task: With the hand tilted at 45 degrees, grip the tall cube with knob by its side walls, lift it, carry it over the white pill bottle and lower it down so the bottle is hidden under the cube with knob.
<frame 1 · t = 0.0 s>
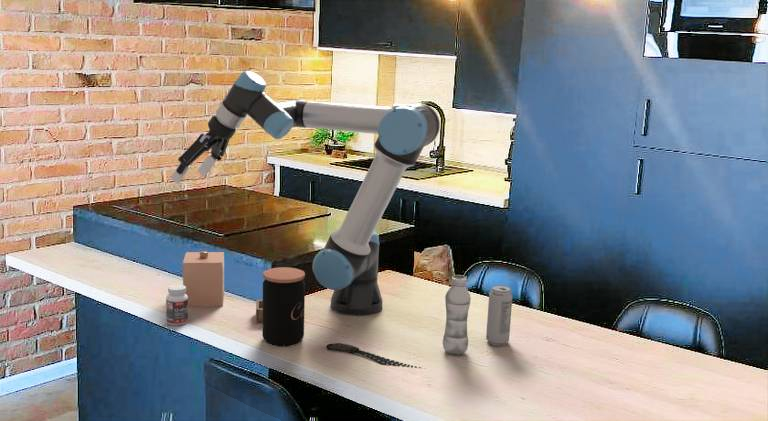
hand: (188, 177, 230), 36 cm above the counter, tool tilted 35°, fingers open, 13 cm apart
pill bottle: (177, 323, 217), on the counter
knife: (375, 362, 197), on the counter
plastic bottle: (454, 353, 204), on the counter
cube with knob: (204, 300, 235), on the counter
energy drink can: (497, 343, 212), on the counter
walnut open box: (274, 318, 223), on the counter
coffee jar: (283, 340, 208), on the counter
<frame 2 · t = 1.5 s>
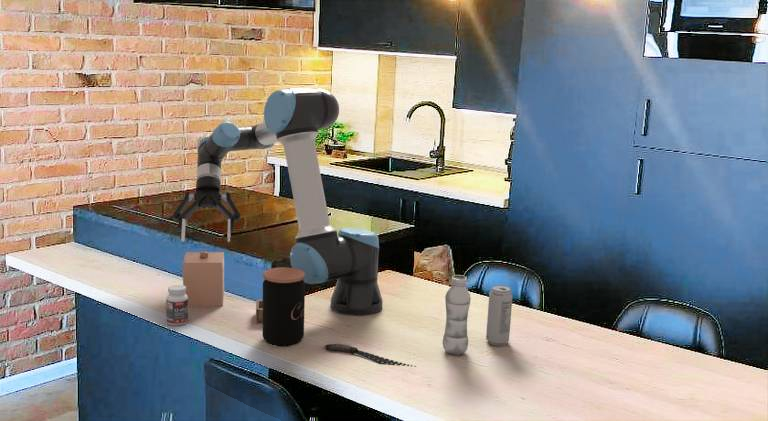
hand: (205, 239, 242), 15 cm above the counter, tool tilted 45°, fingers open, 13 cm apart
nothing on the counter moved.
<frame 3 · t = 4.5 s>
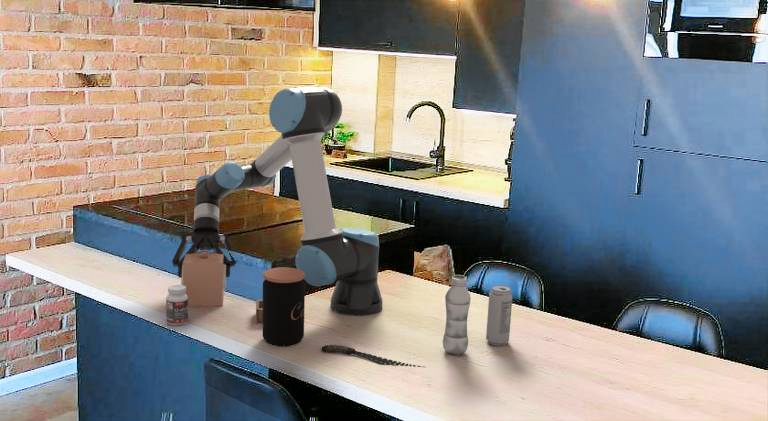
hand: (203, 286, 231), 5 cm above the counter, tool tilted 45°, fingers closed on cube with knob, 11 cm apart
cube with knob: (204, 299, 235), on the counter, touching gripper
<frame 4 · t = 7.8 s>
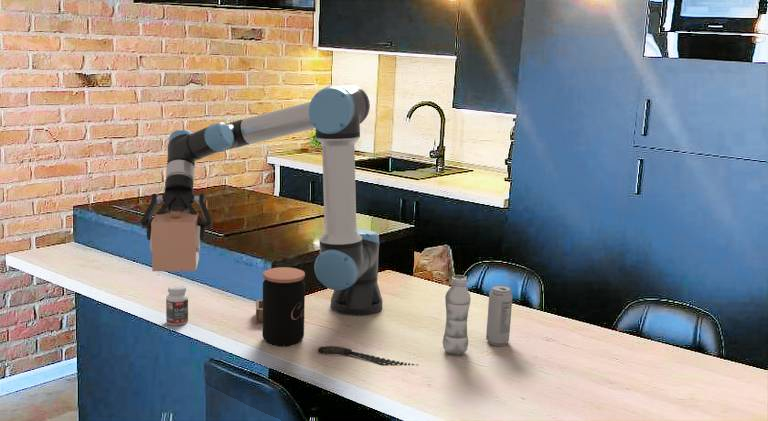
hand: (174, 249, 209), 21 cm above the counter, tool tilted 45°, fingers closed on cube with knob, 11 cm apart
cube with knob: (176, 265, 213), point 16 cm above the counter, touching gripper
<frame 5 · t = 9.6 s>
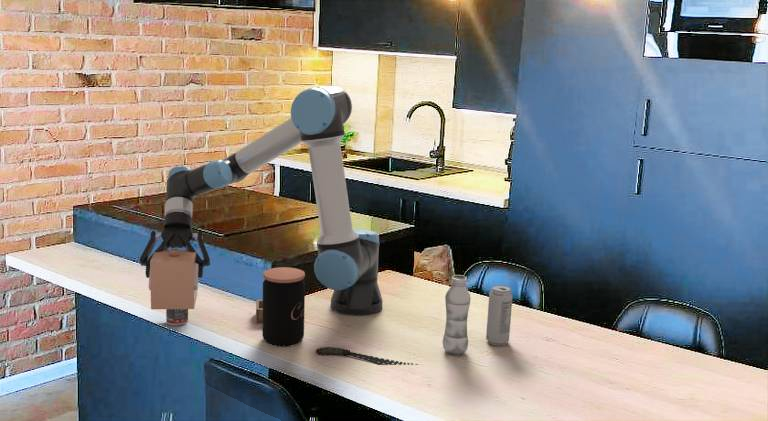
hand: (173, 287, 212), 11 cm above the counter, tool tilted 45°, fingers closed on cube with knob, 11 cm apart
cube with knob: (174, 302, 216), point 6 cm above the counter, touching gripper
when the fingers open (6 cm above the counter, at t = 11.2 s): cube with knob drops 1 cm, on the counter.
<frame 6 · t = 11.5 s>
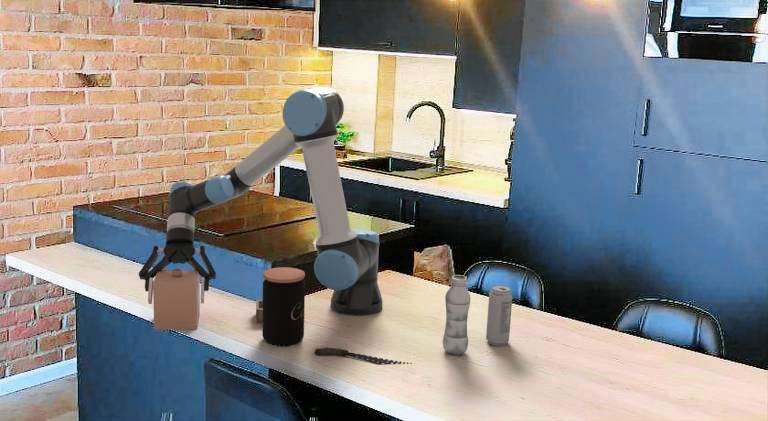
hand: (176, 301, 213), 7 cm above the counter, tool tilted 45°, fingers open, 13 cm apart
cube with knob: (177, 322, 217), on the counter
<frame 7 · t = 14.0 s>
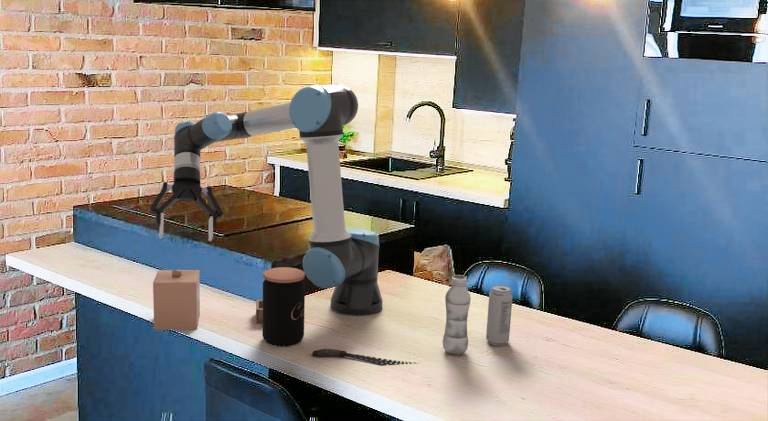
hand: (186, 237, 224), 20 cm above the counter, tool tilted 40°, fingers open, 13 cm apart
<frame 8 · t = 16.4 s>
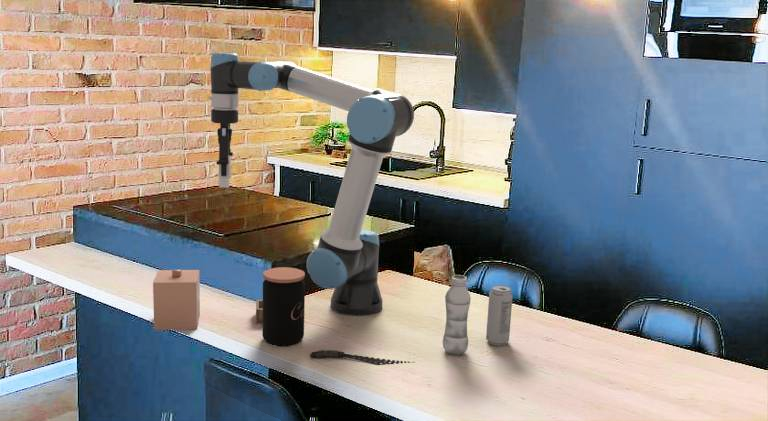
hand: (225, 182, 230), 35 cm above the counter, tool pointing down, fingers open, 13 cm apart
at the end: cube with knob 0.1 cm from the pill bottle (horizontally); cube with knob on the counter; cube with knob tilted 0° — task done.
